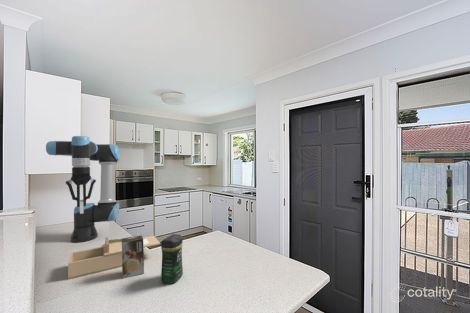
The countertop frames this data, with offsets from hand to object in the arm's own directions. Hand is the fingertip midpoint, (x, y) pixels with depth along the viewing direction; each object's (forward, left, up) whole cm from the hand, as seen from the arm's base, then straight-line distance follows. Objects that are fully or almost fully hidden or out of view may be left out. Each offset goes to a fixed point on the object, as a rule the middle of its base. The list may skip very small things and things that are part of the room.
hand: (81, 212), depth 113 cm
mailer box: (+7, +9, -26) cm, 28 cm away
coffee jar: (+39, +35, -26) cm, 58 cm away
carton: (-13, +14, -27) cm, 33 cm away
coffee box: (+24, +21, -26) cm, 41 cm away
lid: (+7, +22, -19) cm, 30 cm away
